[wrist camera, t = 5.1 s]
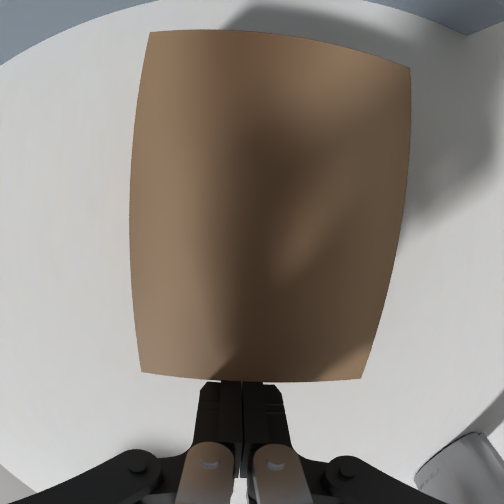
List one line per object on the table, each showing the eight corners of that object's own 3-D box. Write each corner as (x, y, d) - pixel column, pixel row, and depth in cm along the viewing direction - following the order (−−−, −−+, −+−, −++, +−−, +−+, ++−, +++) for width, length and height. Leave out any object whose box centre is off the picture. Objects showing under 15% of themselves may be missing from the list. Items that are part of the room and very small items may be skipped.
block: (358, 95, 11) (410, 68, 7) (329, 322, 14) (360, 378, 10) (178, 76, 10) (150, 32, 6) (166, 314, 13) (141, 371, 9)
